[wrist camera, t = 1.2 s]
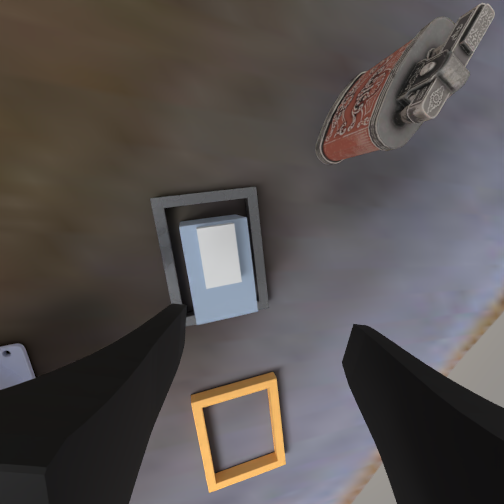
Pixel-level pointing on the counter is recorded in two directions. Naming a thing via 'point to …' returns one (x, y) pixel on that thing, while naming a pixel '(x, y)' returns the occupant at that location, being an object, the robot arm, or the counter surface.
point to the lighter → (402, 89)
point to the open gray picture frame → (206, 197)
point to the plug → (219, 267)
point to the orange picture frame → (198, 402)
